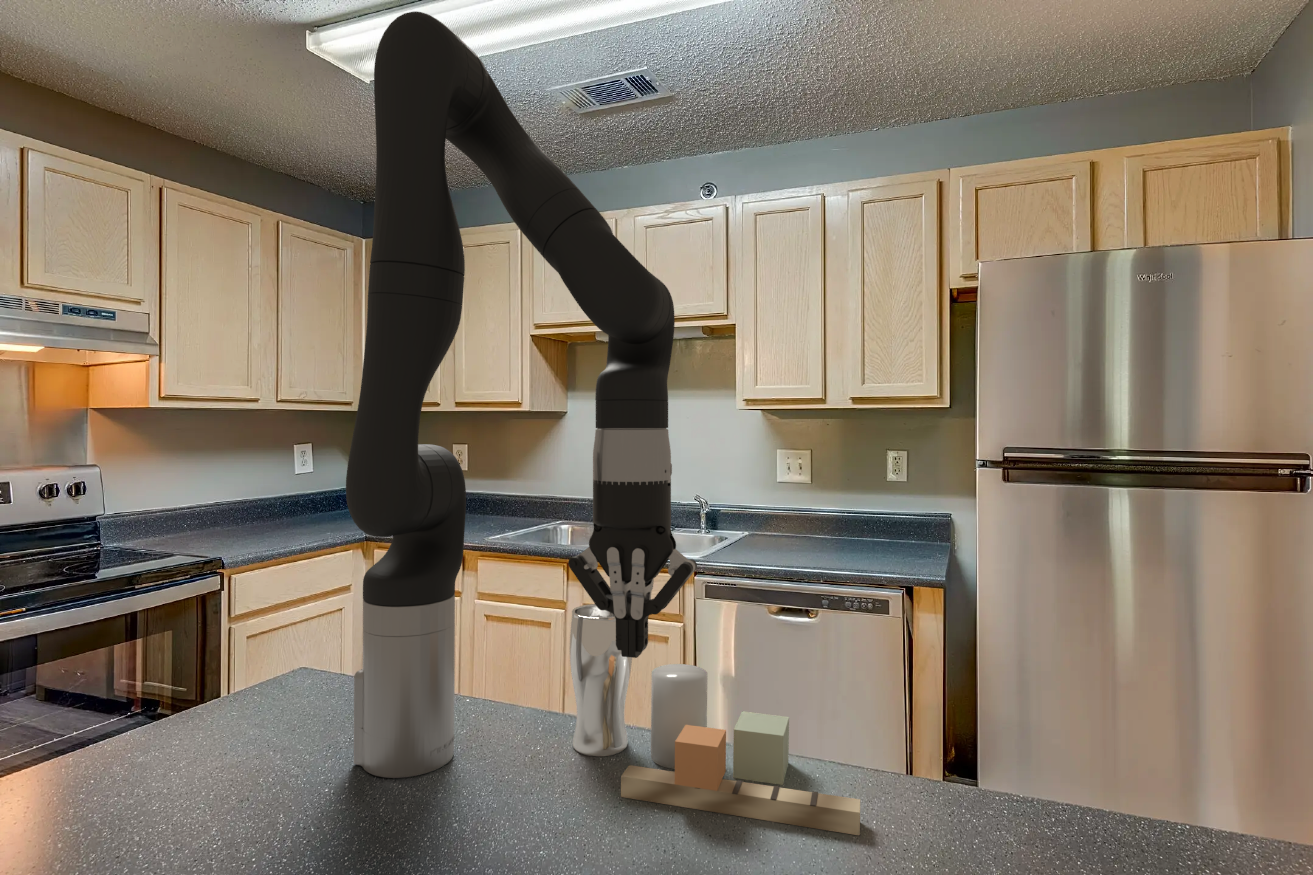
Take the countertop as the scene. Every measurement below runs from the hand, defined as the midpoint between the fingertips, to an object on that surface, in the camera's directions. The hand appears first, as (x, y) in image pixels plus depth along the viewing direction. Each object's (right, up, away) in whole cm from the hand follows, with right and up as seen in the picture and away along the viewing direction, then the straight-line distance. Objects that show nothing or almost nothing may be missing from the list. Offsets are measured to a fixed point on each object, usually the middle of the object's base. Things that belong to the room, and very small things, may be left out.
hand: (632, 654), depth 71 cm
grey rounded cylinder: (+5, -13, +8) cm, 16 cm away
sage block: (+13, -14, +5) cm, 20 cm away
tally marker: (+6, -11, -2) cm, 13 cm away
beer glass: (-4, -13, +11) cm, 18 cm away
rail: (+10, -14, -3) cm, 17 cm away
